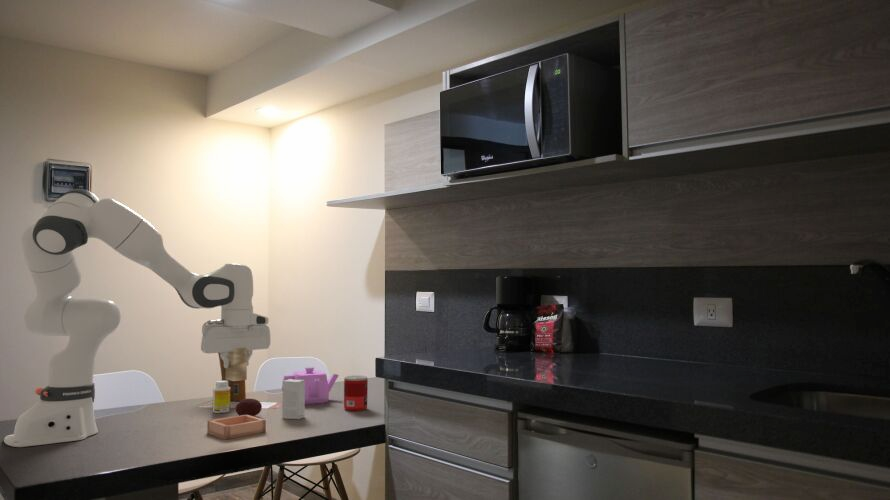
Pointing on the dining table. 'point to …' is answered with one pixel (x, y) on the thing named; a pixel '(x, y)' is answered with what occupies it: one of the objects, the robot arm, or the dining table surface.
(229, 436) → the tray
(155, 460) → the dining table surface
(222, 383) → the supplement bottle
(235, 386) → the pancake mix bag
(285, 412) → the skincare box
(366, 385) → the canned food
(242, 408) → the potato
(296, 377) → the teakettle
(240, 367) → the beige tall rectangular block
